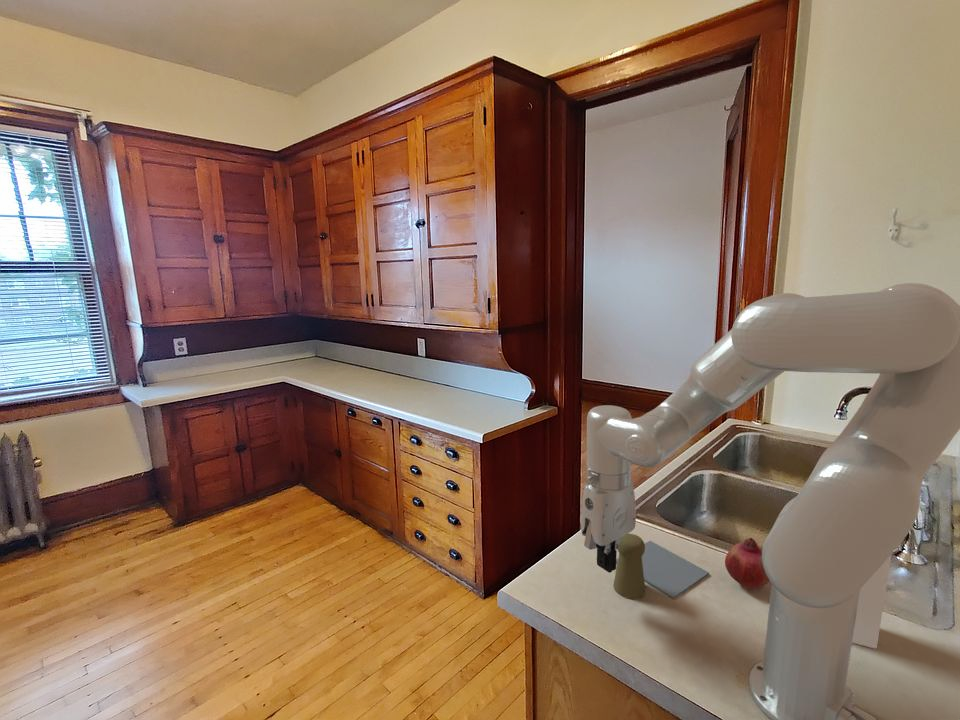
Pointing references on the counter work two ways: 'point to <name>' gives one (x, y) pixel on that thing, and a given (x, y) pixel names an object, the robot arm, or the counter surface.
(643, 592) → the olive brown rounded cylinder
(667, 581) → the grey mat
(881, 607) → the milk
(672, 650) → the counter surface
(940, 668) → the counter surface
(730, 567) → the fruit
